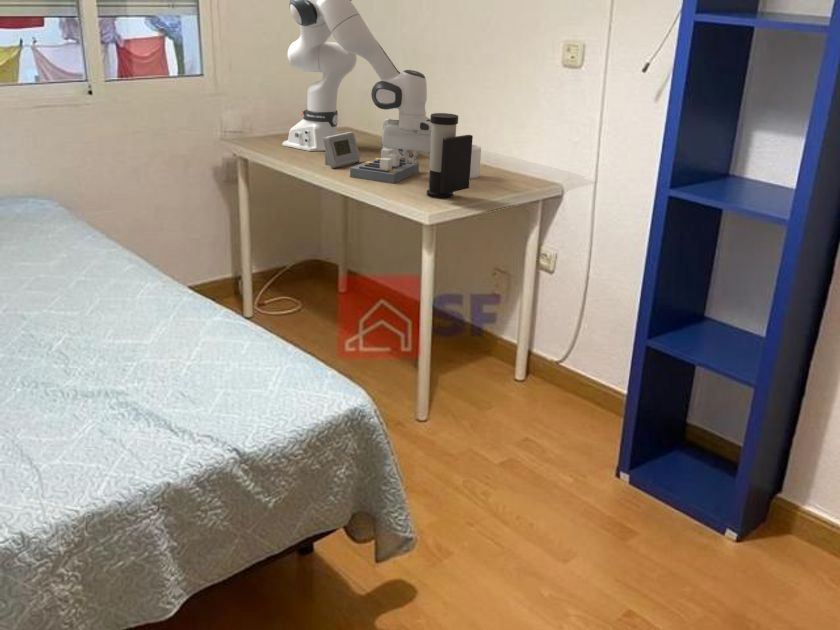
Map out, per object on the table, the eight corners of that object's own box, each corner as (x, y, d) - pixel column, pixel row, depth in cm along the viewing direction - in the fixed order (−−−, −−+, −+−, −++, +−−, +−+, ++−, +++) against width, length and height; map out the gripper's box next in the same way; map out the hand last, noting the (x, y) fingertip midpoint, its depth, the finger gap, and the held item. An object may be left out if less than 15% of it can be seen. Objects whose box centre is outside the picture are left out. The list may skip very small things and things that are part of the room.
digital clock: (331, 169, 281) (332, 138, 277) (315, 164, 287) (315, 134, 283) (366, 164, 292) (367, 134, 288) (350, 159, 298) (350, 130, 294)
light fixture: (442, 189, 262) (447, 111, 253) (468, 196, 256) (474, 116, 246) (416, 195, 254) (420, 115, 245) (443, 202, 247) (448, 120, 238)
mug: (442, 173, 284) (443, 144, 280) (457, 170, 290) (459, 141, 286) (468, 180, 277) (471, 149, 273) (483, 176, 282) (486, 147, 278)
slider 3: (387, 165, 276) (387, 155, 274) (391, 164, 278) (391, 153, 277) (395, 166, 275) (395, 156, 273) (399, 165, 277) (399, 154, 276)
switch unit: (350, 176, 273) (350, 166, 271) (377, 165, 291) (378, 155, 289) (393, 183, 267) (393, 172, 266) (418, 171, 285) (419, 161, 284)
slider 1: (380, 159, 284) (381, 149, 282) (384, 158, 286) (384, 148, 285) (388, 160, 283) (388, 150, 281) (392, 159, 285) (392, 149, 284)
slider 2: (379, 169, 270) (379, 159, 268) (383, 167, 272) (383, 157, 271) (387, 170, 268) (388, 160, 267) (391, 169, 271) (392, 158, 270)
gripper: (379, 119, 269) (378, 161, 275) (436, 126, 262) (434, 169, 268) (387, 117, 275) (386, 157, 280) (443, 124, 268) (441, 165, 273)
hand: (410, 163), depth 274 cm, fingers closed
